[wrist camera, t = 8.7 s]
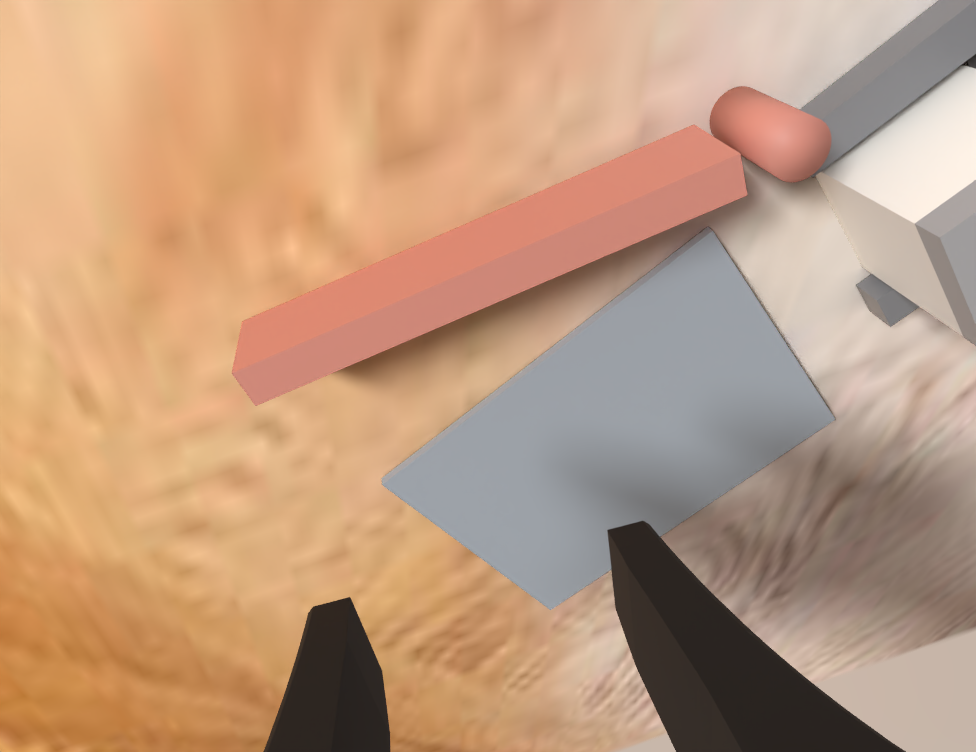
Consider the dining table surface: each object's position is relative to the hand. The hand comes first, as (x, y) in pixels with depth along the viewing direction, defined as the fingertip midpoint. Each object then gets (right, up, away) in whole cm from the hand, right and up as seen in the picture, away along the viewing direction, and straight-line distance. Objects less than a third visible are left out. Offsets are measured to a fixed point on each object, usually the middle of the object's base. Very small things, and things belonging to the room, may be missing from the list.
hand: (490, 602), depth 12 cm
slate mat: (+4, +2, +11) cm, 12 cm away
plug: (+11, +9, +8) cm, 17 cm away
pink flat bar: (0, +8, +6) cm, 10 cm away
